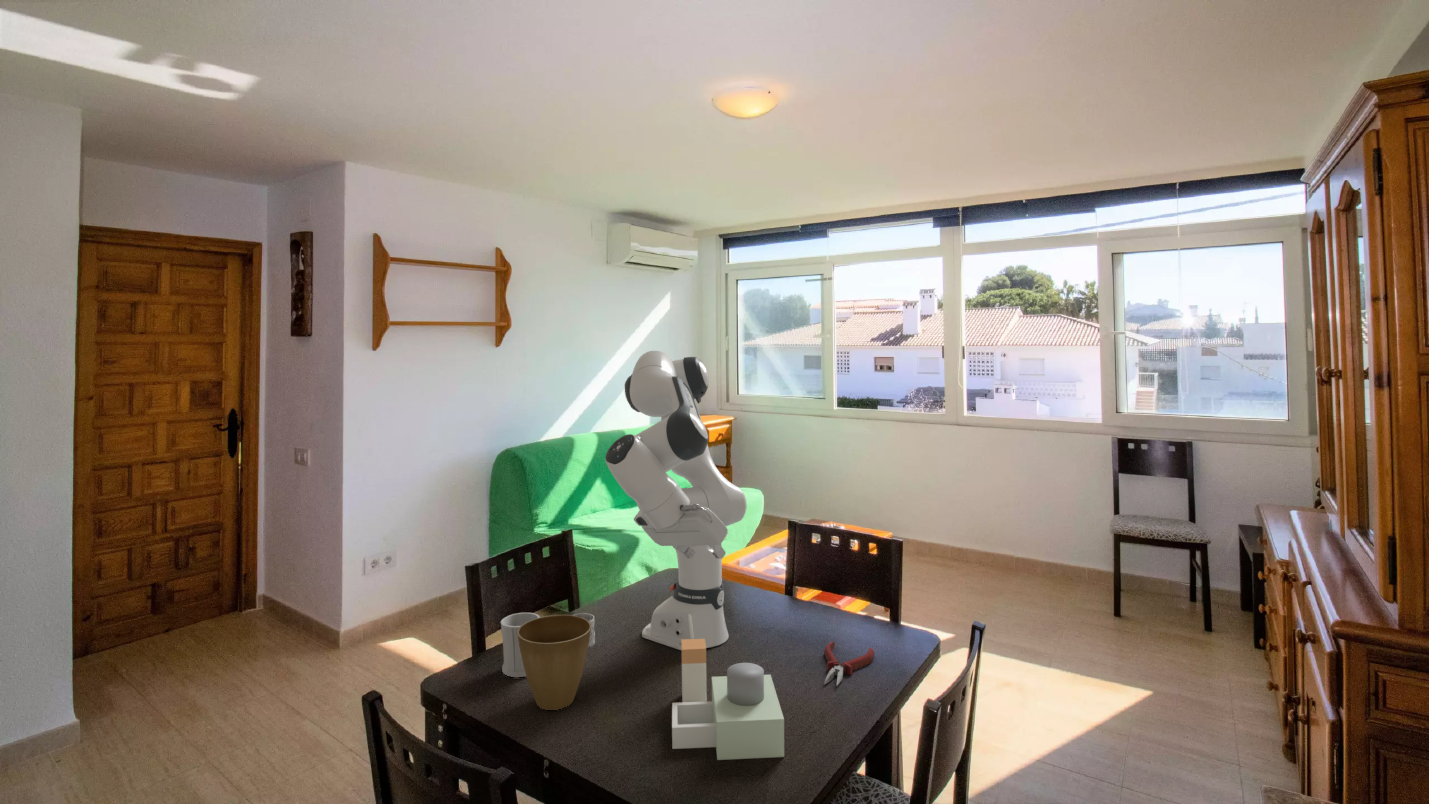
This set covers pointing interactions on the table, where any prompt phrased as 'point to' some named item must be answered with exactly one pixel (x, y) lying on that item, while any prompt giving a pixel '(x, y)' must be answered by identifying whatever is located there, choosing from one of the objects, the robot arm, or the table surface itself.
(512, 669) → the cup
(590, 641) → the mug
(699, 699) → the two-tone orange block
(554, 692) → the plant pot
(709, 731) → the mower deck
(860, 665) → the pliers
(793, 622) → the table surface
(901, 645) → the table surface
